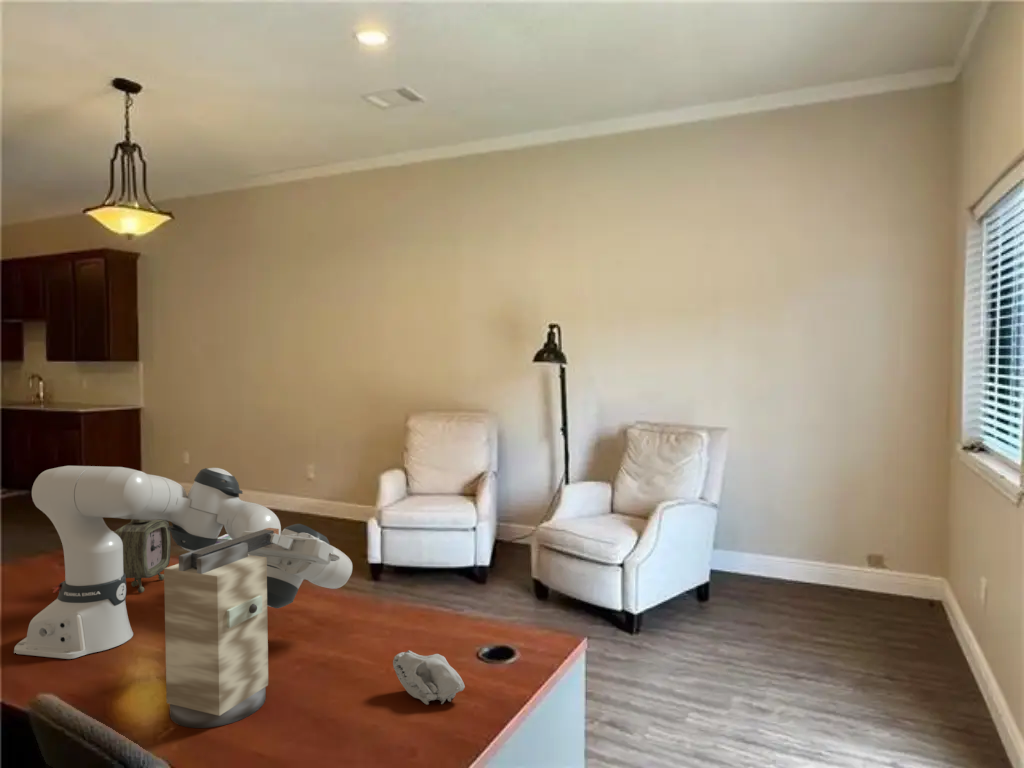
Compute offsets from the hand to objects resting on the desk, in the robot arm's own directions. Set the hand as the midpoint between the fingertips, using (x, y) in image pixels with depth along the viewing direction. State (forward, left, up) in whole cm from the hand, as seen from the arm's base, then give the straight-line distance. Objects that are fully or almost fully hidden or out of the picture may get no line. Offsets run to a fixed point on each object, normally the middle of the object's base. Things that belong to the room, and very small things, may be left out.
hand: (262, 536), depth 136 cm
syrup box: (-29, +52, -28) cm, 66 cm away
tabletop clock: (-54, +54, -28) cm, 81 cm away
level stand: (-4, -11, -28) cm, 30 cm away
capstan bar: (-2, -6, -2) cm, 7 cm away
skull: (+33, -7, -28) cm, 44 cm away
